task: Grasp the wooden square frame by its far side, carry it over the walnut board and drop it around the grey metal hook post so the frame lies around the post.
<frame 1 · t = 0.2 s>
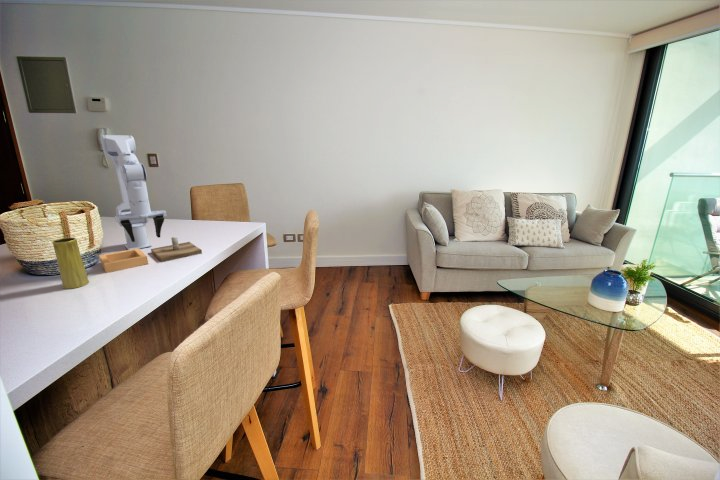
hand: (146, 238, 112), 9 cm above the counter, tool pointing down, fingers open, 7 cm apart
wooden square frame: (124, 263, 114), on the counter
vase: (76, 285, 97), on the counter
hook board: (176, 252, 125), on the counter
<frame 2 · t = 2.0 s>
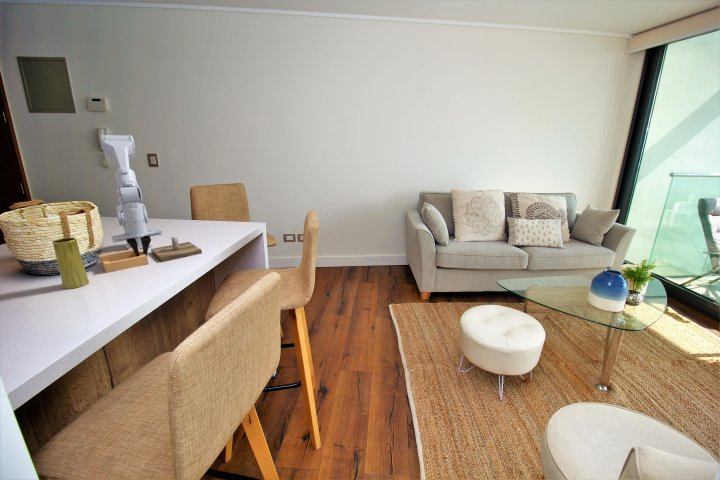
hand: (142, 257, 115), 2 cm above the counter, tool pointing down, fingers closed on wooden square frame, 2 cm apart
wooden square frame: (124, 263, 114), on the counter, touching gripper
everything else where it was.
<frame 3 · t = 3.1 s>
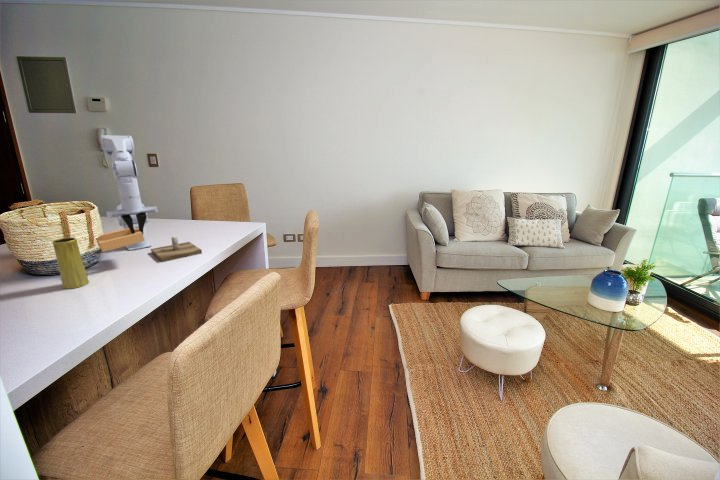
hand: (137, 234, 113), 10 cm above the counter, tool pointing down, fingers closed on wooden square frame
wooden square frame: (121, 242, 112), point 8 cm above the counter, tilted 6°, touching gripper
everything else where it was.
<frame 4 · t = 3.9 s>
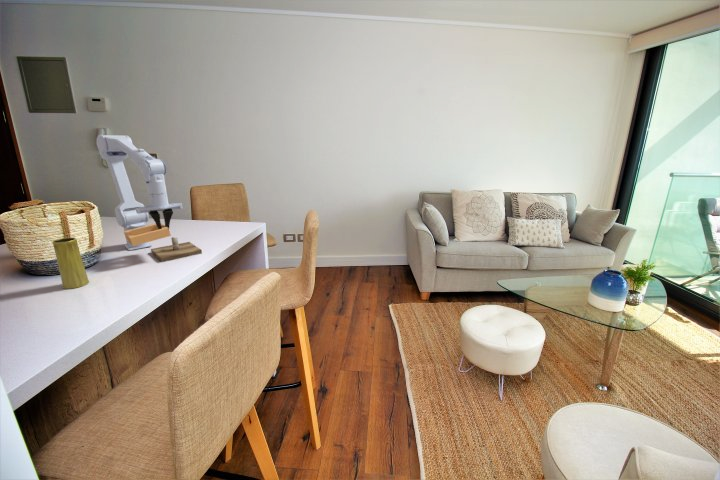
hand: (163, 230, 118), 10 cm above the counter, tool pointing down, fingers closed on wooden square frame
wooden square frame: (148, 237, 117), point 8 cm above the counter, tilted 7°, touching gripper
everything else where it was.
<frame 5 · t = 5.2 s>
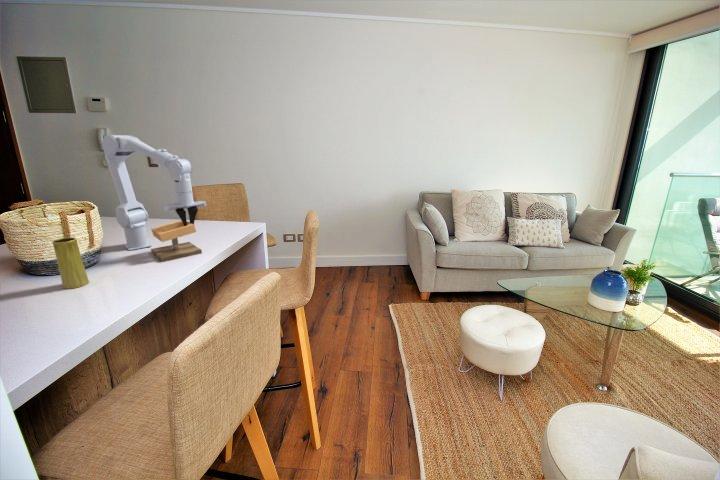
hand: (188, 226, 124), 10 cm above the counter, tool pointing down, fingers closed on wooden square frame
wooden square frame: (174, 233, 123), point 8 cm above the counter, tilted 8°, touching gripper
everything else where it was.
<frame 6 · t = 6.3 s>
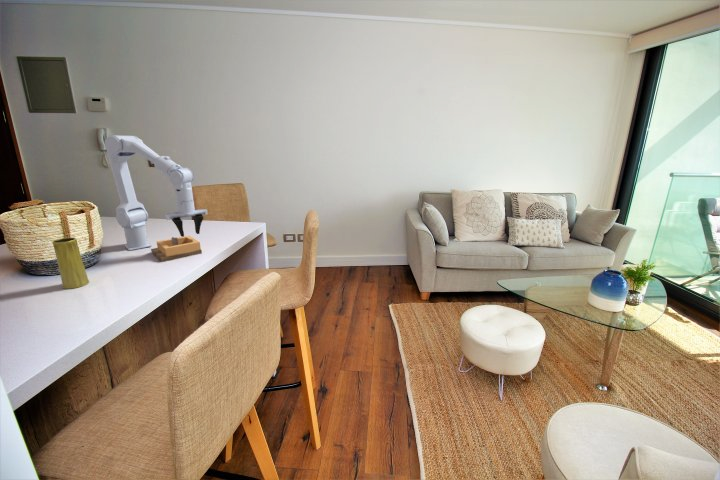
hand: (190, 234, 125), 7 cm above the counter, tool pointing down, fingers open, 5 cm apart
wooden square frame: (179, 249, 125), point 1 cm above the counter, touching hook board
everything else where it was.
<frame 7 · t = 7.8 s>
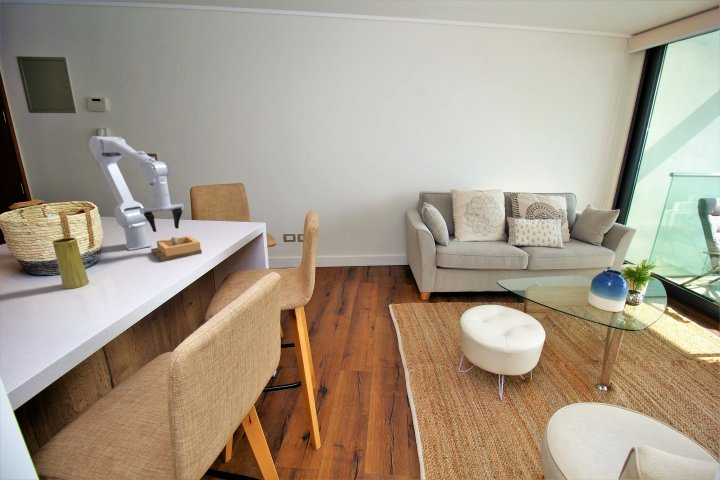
hand: (165, 229, 123), 9 cm above the counter, tool pointing down, fingers open, 7 cm apart
nothing on the counter moved.
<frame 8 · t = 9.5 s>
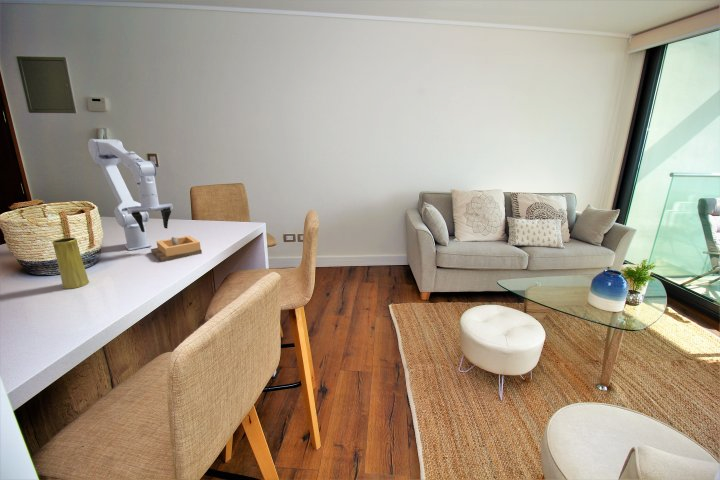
hand: (154, 229, 122), 9 cm above the counter, tool pointing down, fingers open, 7 cm apart
nothing on the counter moved.
at the end: wooden square frame 1.0 cm off-centre on the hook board, point 1.5 cm above the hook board's base; wooden square frame tilted 0°; the gripper is holding nothing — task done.
